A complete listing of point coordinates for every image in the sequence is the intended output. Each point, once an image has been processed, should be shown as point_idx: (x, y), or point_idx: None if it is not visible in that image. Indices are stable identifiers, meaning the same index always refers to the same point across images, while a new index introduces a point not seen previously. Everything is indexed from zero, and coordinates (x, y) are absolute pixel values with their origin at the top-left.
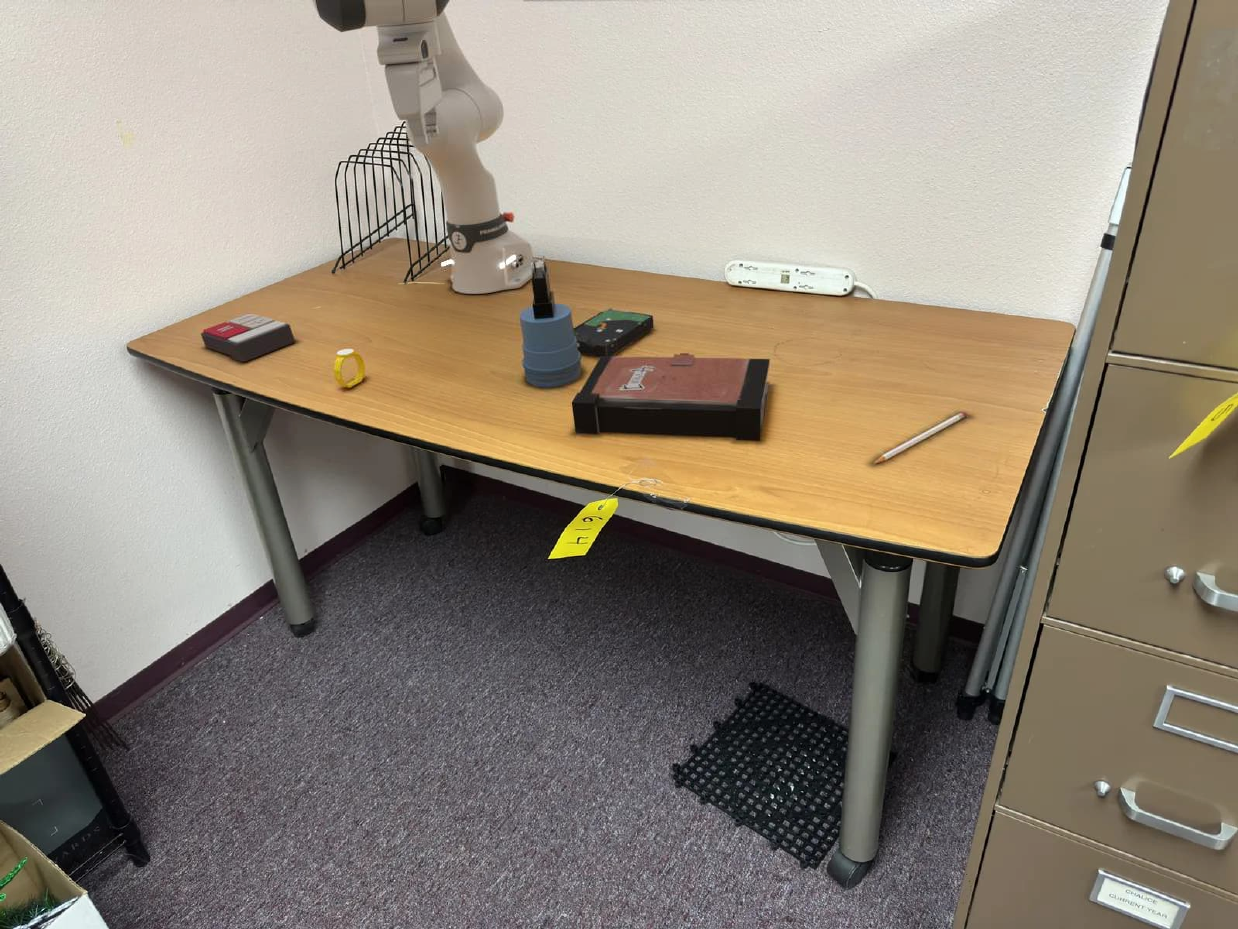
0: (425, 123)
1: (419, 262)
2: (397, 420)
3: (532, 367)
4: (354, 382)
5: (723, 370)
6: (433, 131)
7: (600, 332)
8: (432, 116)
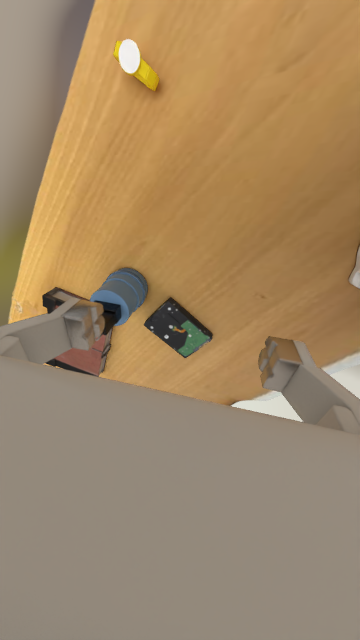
0: (306, 368)
1: None
2: (65, 156)
3: (109, 277)
4: (141, 77)
5: (85, 364)
6: (266, 363)
7: (167, 326)
8: (311, 412)
